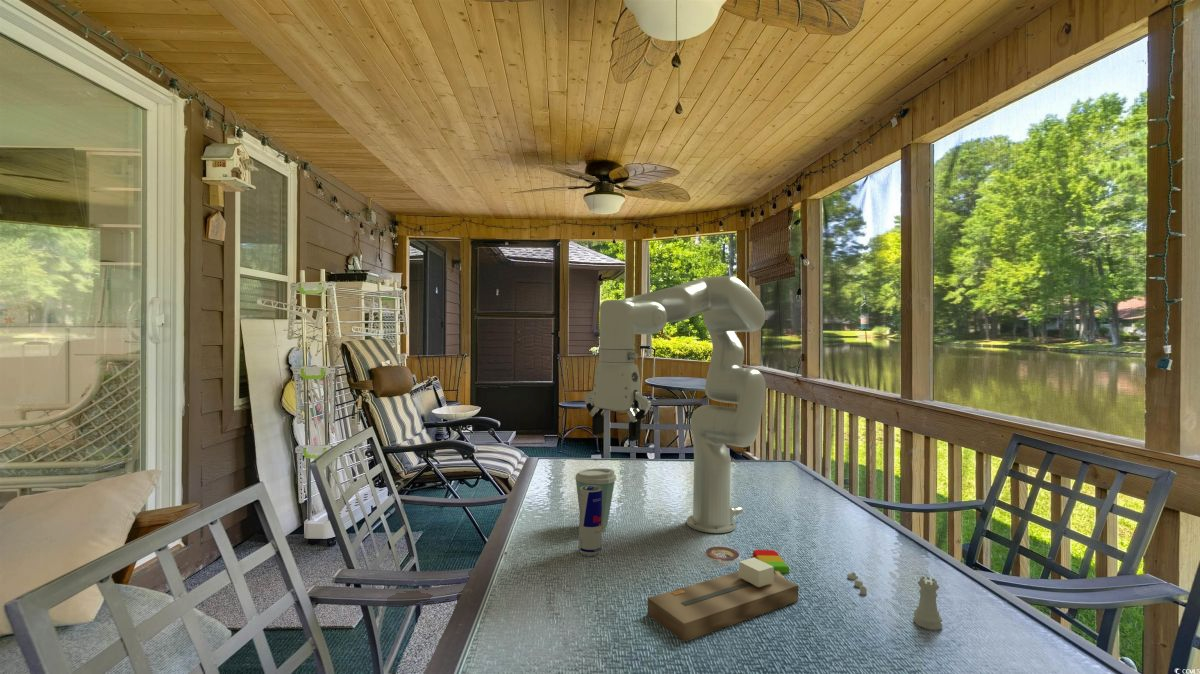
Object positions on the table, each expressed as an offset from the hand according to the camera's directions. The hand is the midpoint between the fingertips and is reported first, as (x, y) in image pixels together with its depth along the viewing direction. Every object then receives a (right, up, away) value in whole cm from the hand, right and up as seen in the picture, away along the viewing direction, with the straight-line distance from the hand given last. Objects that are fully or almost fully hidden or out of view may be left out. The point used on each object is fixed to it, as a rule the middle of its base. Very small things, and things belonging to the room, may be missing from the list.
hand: (615, 437), depth 118 cm
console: (+20, -28, -17) cm, 38 cm away
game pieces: (+49, -29, -7) cm, 57 cm away
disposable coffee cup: (-5, -28, +23) cm, 37 cm away
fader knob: (+27, -25, -13) cm, 39 cm away
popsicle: (+34, -29, 0) cm, 45 cm away
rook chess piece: (+54, -29, -22) cm, 65 cm away
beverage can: (-6, -28, +7) cm, 29 cm away
